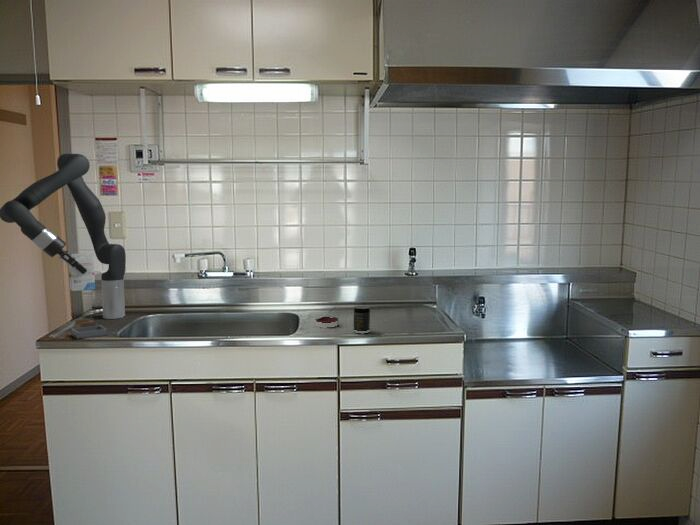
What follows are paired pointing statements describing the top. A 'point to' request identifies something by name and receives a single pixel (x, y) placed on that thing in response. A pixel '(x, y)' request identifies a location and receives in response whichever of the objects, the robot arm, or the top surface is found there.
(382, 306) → the top surface
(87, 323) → the clip stand
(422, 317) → the top surface
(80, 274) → the ink box
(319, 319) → the canned food
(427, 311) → the top surface
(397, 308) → the top surface
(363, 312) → the supplement container
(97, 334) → the tray
